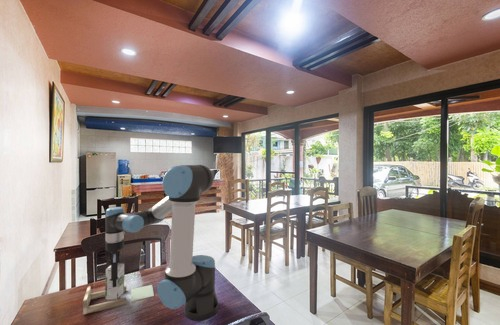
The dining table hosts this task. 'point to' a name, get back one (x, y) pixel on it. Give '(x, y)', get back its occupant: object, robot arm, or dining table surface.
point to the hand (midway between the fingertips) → (115, 288)
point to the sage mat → (142, 293)
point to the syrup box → (120, 283)
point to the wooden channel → (100, 306)
